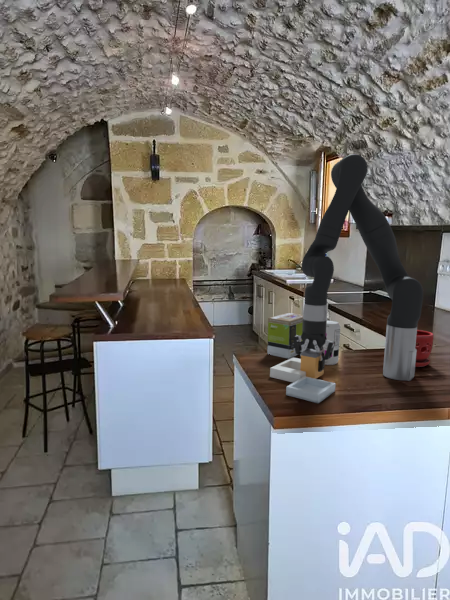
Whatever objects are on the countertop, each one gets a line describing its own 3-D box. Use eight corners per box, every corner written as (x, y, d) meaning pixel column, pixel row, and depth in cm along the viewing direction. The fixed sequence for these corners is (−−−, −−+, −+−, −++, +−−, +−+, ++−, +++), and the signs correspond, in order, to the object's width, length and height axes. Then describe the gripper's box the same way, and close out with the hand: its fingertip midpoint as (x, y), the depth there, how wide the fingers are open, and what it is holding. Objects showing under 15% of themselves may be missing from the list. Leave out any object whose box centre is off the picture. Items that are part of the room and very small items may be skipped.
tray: (335, 391, 128) (335, 383, 128) (318, 403, 119) (318, 394, 118) (304, 383, 134) (304, 376, 134) (286, 394, 125) (286, 386, 124)
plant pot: (432, 362, 161) (435, 330, 160) (428, 371, 150) (431, 337, 148) (395, 356, 168) (397, 326, 166) (389, 364, 157) (391, 332, 155)
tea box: (286, 347, 178) (288, 311, 176) (308, 351, 172) (310, 315, 170) (266, 354, 167) (267, 316, 165) (288, 359, 161) (290, 320, 158)
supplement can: (321, 366, 153) (324, 324, 151) (311, 359, 161) (313, 320, 159) (342, 364, 155) (345, 323, 153) (330, 358, 163) (333, 319, 161)
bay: (320, 371, 147) (321, 363, 146) (299, 384, 134) (300, 374, 133) (292, 365, 153) (292, 357, 152) (269, 376, 140) (270, 367, 140)
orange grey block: (323, 374, 142) (324, 350, 140) (314, 379, 136) (315, 354, 135) (309, 371, 145) (310, 347, 143) (300, 376, 139) (301, 352, 138)
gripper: (340, 319, 136) (337, 371, 139) (299, 313, 145) (297, 362, 147) (331, 322, 130) (328, 377, 133) (289, 316, 139) (287, 367, 141)
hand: (312, 369), depth 140 cm, fingers closed on orange grey block, 5 cm apart
